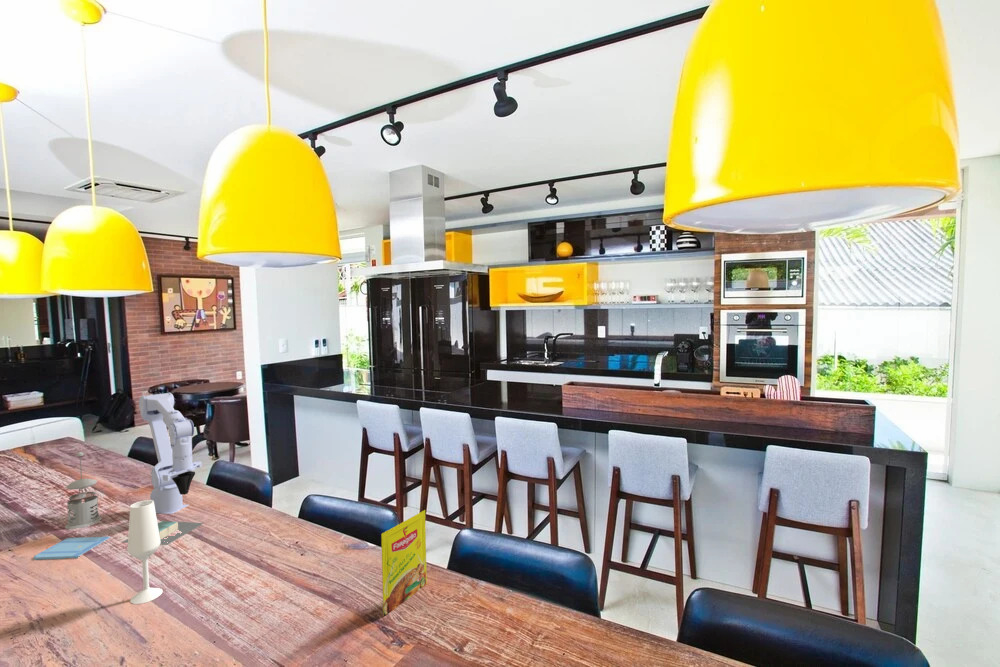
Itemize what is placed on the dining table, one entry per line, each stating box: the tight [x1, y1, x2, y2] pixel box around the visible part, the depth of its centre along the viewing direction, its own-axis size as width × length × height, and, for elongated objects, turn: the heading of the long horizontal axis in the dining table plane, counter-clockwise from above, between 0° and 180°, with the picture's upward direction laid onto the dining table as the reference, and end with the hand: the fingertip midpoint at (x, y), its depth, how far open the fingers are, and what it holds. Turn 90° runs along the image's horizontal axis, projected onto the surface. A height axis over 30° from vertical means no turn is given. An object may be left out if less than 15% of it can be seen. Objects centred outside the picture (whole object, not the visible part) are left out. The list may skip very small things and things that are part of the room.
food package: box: [380, 509, 428, 618], centre depth 115 cm, size 15×1×20 cm, turn 148°
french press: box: [64, 451, 103, 530], centre depth 162 cm, size 10×12×25 cm
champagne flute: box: [127, 499, 164, 605], centre depth 118 cm, size 7×7×24 cm
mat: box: [122, 520, 205, 546], centre depth 153 cm, size 16×15×1 cm
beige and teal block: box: [157, 520, 179, 540], centre depth 151 cm, size 6×3×7 cm
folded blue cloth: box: [33, 536, 111, 561], centre depth 144 cm, size 14×12×1 cm
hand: (184, 493), depth 163 cm, fingers closed
